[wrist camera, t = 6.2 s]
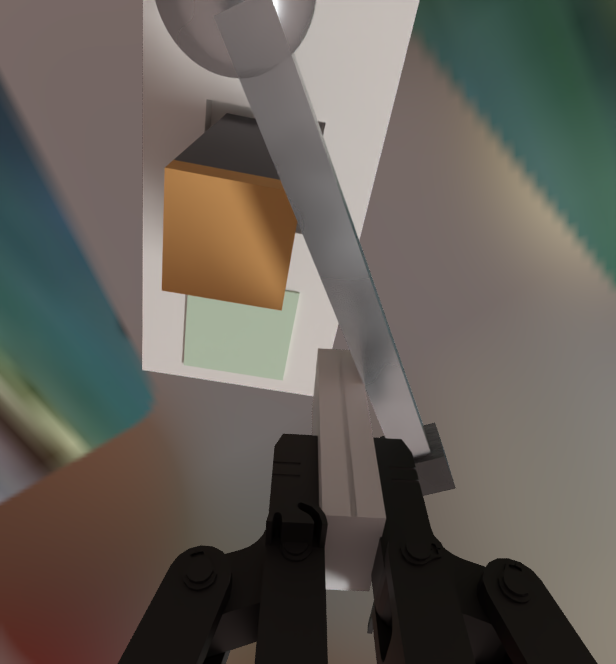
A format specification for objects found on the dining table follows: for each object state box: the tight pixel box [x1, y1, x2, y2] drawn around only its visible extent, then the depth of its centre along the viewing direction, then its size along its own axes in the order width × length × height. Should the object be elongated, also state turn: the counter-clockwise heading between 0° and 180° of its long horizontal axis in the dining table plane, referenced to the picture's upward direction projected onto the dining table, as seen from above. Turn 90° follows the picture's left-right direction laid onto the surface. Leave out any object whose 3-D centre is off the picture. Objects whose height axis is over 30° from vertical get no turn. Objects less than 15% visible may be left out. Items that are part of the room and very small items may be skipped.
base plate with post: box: [142, 0, 419, 396], centre depth 21 cm, size 21×11×13 cm, turn 170°
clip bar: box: [155, 0, 455, 496], centre depth 13 cm, size 17×3×2 cm, turn 21°
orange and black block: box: [162, 113, 297, 311], centre depth 20 cm, size 4×4×11 cm
